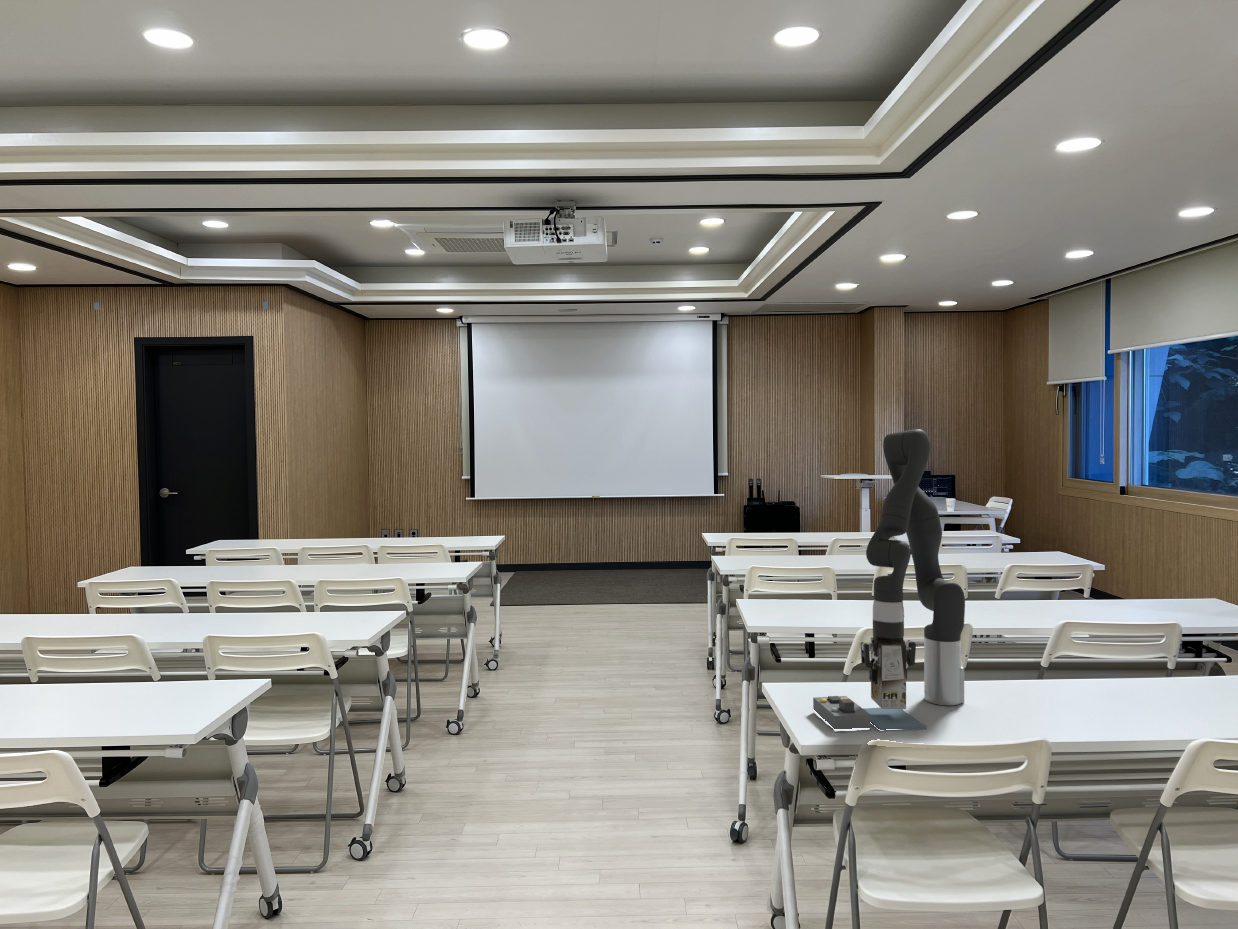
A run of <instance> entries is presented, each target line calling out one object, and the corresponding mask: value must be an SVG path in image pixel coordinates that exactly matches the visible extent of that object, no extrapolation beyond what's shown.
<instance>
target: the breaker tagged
mask: <svg viewBox="0 0 1238 929" xmlns="http://www.w3.org/2000/svg"><path fill="white" fill-rule="evenodd" d="M838 696H839V695H830V696H829V695H828V696H827V697H828V701H829V702H830V703H831V704H838V703H839V699H841V698H840V697H838Z"/></svg>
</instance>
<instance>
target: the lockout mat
mask: <svg viewBox="0 0 1238 929" xmlns="http://www.w3.org/2000/svg"><path fill="white" fill-rule="evenodd" d="M862 708H863V707H862ZM863 709H864V710H865V711H867V712H868V713H869V714H870V722H871V723H872V724H873V725H875V726H876V727H877V728H878V729H880V730H886V729H913V730H926V729H927V725H926V724H924V723H923V722H922V721H920V720H919V719H918V718H916V717H914V716H913V715H912V714H910V713H908V712H907V711H906V710H905V709H882V708H881V707H867V708H863Z"/></svg>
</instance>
